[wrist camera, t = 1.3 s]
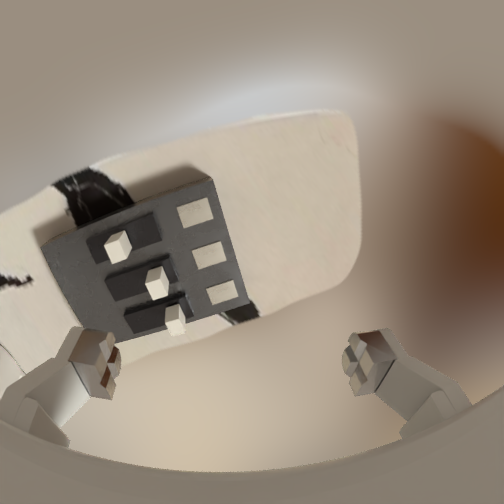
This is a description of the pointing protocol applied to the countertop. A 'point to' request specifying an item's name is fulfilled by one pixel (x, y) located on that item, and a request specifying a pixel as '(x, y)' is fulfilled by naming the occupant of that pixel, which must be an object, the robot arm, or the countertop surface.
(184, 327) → the white short rectangular block
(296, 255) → the countertop surface
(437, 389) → the robot arm
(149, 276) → the block
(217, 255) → the breaker panel
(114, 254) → the block
